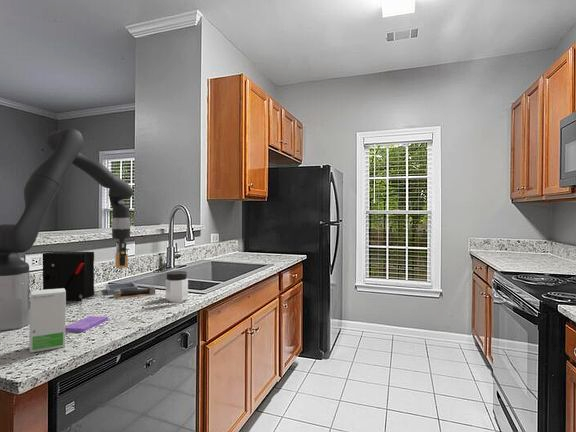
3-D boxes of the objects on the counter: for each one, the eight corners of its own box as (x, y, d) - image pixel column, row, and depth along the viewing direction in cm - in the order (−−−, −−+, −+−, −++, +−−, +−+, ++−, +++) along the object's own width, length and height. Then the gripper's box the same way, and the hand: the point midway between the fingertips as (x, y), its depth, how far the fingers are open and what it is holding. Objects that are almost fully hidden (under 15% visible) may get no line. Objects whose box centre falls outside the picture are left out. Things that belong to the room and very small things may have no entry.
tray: (137, 294, 159) (137, 286, 159) (108, 297, 153) (108, 289, 153) (133, 289, 169) (133, 282, 169) (105, 292, 163) (105, 284, 163)
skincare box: (29, 353, 93) (28, 295, 93) (29, 346, 98) (29, 290, 98) (66, 346, 98) (66, 291, 98) (65, 339, 103) (64, 286, 103)
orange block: (127, 267, 160) (127, 254, 159) (116, 268, 157) (116, 254, 157) (126, 265, 164) (126, 252, 164) (115, 266, 162) (115, 253, 162)
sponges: (62, 333, 110) (62, 327, 110) (89, 320, 123) (89, 315, 123) (82, 334, 109) (82, 328, 109) (108, 321, 122) (108, 315, 122)
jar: (188, 298, 152) (188, 270, 152) (187, 302, 144) (187, 273, 144) (166, 299, 150) (166, 271, 150) (164, 304, 142) (164, 274, 142)
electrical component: (97, 296, 154) (97, 251, 154) (81, 302, 144) (81, 254, 144) (60, 295, 156) (59, 250, 156) (41, 301, 146) (41, 253, 146)
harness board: (152, 292, 162) (152, 284, 162) (156, 297, 153) (156, 288, 153) (112, 297, 153) (112, 288, 153) (115, 302, 145) (115, 293, 145)
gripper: (110, 227, 165) (110, 263, 165) (113, 228, 152) (113, 267, 153) (128, 226, 168) (128, 262, 169) (132, 228, 156) (132, 266, 157)
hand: (121, 264), depth 161 cm, fingers closed on orange block, 5 cm apart
